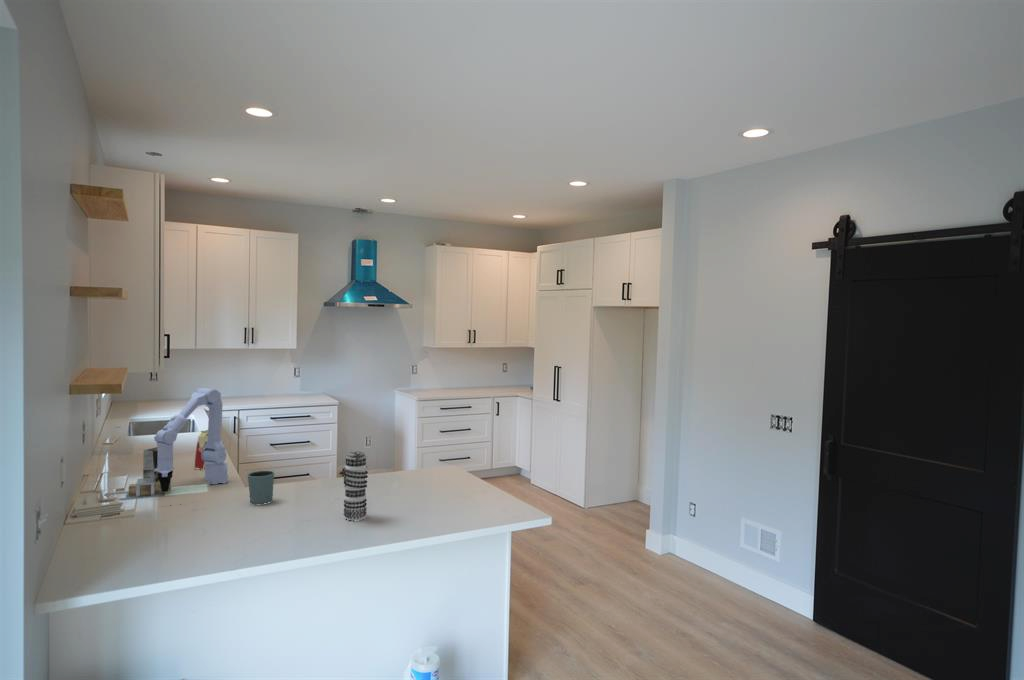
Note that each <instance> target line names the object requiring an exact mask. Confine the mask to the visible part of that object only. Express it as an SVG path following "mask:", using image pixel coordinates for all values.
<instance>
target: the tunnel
mask: <svg viewBox="0 0 1024 680" xmlns="http://www.w3.org/2000/svg"><path fill="white" fill-rule="evenodd" d="M135 484H136V497H140V485H151V496H154V488H155V477H153V478H143V477H142V478H137V481H136V483H135Z"/></svg>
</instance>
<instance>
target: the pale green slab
mask: <svg viewBox="0 0 1024 680" xmlns="http://www.w3.org/2000/svg"><path fill="white" fill-rule="evenodd" d="M208 492H209V489H208V484H207V483H203V484H191V485H179V486H178V485H177V486H171V492H169V493H159V494H154V496H151V494H149V495H140V497H136V496H129V490H128V491H117V492H105V493H104V495H103V497H104V496H106V497H108V499H109V498H110V496H111V495H121V494H126V495H125V497H122V498H118V499H119V500H120V501H127V500H128V501H129V500H138V499H149V498H158V497H169V496H179V495H189V494H198V493H200V494H201V493H208Z"/></svg>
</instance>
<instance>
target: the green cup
mask: <svg viewBox="0 0 1024 680" xmlns="http://www.w3.org/2000/svg"><path fill="white" fill-rule="evenodd" d="M247 483H248V490H249V491H248V493H249V503H252V504H264V503H268V502H271V501H272V500H274V497H273V496H274V492H273V491H274V483H275V471H273V470H257V471H252V472H250V473H248V474H247ZM272 502H273V501H272ZM272 502H271V503H272ZM252 504H251V505H252Z"/></svg>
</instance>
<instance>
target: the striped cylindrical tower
mask: <svg viewBox="0 0 1024 680" xmlns="http://www.w3.org/2000/svg"><path fill="white" fill-rule="evenodd" d="M367 457H368V456H367V455H366V454H365V453H364V452H363V451H350V452H348V454H347V455H345V464H344V465H345V466H344V467H343V475H344V476H343V484H344V487H343V489H345V495H344V500H343V507H344V508H343V516H344V517H343V519H344V518H345V519H347V520H352V521H351V522H354V521H353V520H360V521H363V520H362V519H364V520H366V519H367V512H368V511H367V509H368V508H367V507H366V506H367V504H368V503H367V501H368V500H367V498H366V497H367V494H366V489H367V487H368V484H367V483H368V480H366V479H367V478H368V477H369V476H368V475H367V474H368V473H369V471H367V470H366V469H367V468H368V466H367ZM347 520H346V521H347Z"/></svg>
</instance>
